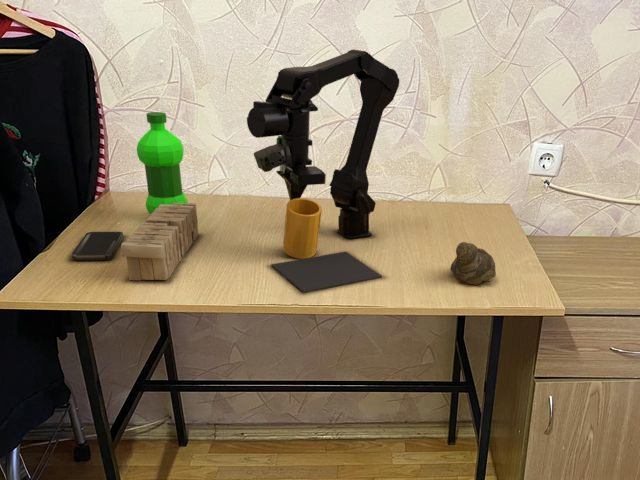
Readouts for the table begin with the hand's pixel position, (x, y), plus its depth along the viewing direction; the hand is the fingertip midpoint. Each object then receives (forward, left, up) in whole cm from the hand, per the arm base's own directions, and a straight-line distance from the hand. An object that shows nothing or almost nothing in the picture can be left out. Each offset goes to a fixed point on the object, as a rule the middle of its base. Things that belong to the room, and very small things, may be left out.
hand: (294, 205), depth 157 cm
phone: (+37, -19, -11) cm, 43 cm away
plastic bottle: (+18, -33, -11) cm, 40 cm away
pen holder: (0, +2, -10) cm, 10 cm away
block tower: (+26, -8, -11) cm, 30 cm away
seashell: (-29, +32, -11) cm, 44 cm away
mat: (-1, +14, -11) cm, 18 cm away
